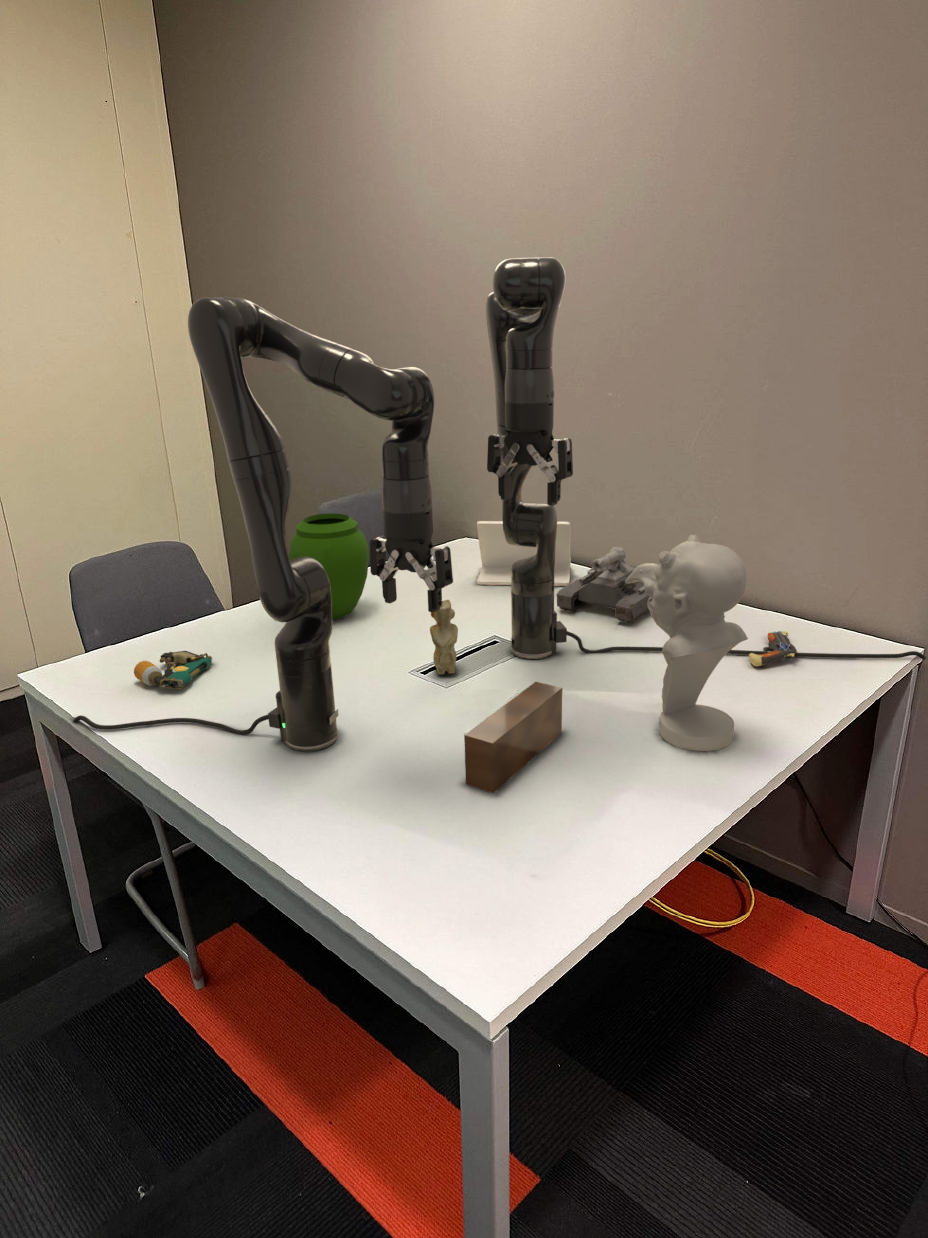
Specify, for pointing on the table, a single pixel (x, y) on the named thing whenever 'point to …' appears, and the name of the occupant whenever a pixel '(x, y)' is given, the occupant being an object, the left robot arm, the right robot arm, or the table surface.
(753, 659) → the toy gun
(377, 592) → the table surface
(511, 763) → the bar
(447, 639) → the sculpture
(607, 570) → the toy
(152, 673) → the spray gun
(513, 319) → the right robot arm
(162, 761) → the table surface
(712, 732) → the bust sculpture
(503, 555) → the tablet stand
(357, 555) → the vase
